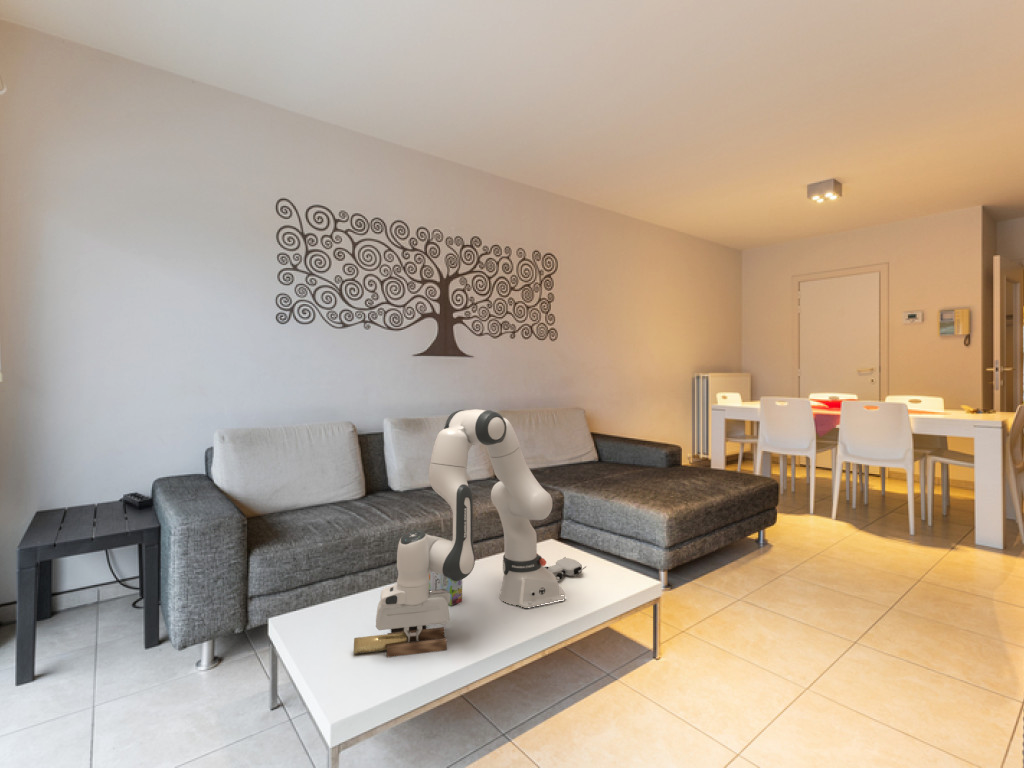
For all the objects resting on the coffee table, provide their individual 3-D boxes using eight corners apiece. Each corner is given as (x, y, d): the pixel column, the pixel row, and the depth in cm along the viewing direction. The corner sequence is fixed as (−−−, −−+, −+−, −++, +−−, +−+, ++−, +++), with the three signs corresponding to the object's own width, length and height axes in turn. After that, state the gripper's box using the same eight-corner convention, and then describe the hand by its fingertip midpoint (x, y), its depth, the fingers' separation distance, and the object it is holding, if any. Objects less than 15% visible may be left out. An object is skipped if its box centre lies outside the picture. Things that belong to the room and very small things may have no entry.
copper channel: (443, 635, 148) (443, 627, 148) (446, 650, 140) (446, 641, 140) (387, 641, 144) (387, 633, 144) (387, 657, 136) (387, 648, 136)
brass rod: (406, 643, 144) (406, 629, 144) (406, 650, 140) (406, 635, 140) (354, 650, 140) (354, 635, 140) (353, 657, 136) (353, 641, 137)
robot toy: (557, 588, 183) (588, 575, 192) (557, 575, 183) (587, 564, 192) (537, 576, 194) (566, 565, 202) (536, 565, 193) (566, 554, 202)
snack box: (463, 601, 170) (463, 556, 170) (451, 607, 166) (451, 561, 166) (422, 584, 184) (422, 543, 184) (410, 589, 180) (410, 547, 180)
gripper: (449, 583, 147) (449, 630, 147) (376, 590, 142) (376, 639, 143) (451, 592, 141) (451, 642, 141) (375, 599, 136) (375, 650, 136)
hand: (413, 640), depth 142 cm, fingers closed
